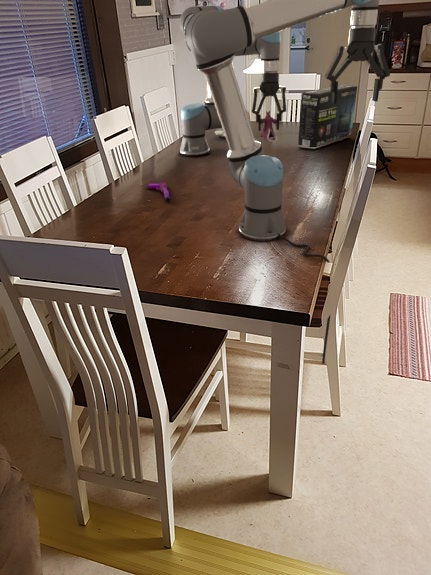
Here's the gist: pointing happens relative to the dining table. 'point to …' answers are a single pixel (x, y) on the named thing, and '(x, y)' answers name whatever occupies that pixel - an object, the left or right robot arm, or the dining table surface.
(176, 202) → the dining table surface
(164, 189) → the handgun
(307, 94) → the router box
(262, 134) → the action figure
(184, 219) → the dining table surface
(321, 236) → the dining table surface
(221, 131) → the fossil
